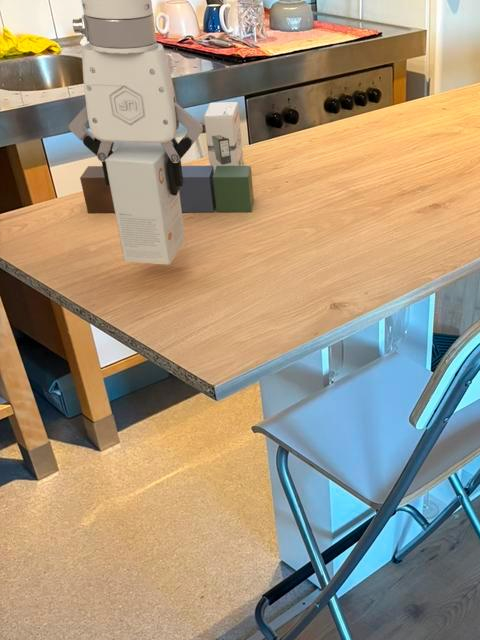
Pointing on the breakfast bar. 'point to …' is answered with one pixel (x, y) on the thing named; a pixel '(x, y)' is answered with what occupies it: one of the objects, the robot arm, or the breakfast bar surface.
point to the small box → (145, 204)
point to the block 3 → (233, 188)
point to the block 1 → (96, 191)
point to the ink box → (223, 134)
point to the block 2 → (197, 189)
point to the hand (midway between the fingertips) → (146, 190)
